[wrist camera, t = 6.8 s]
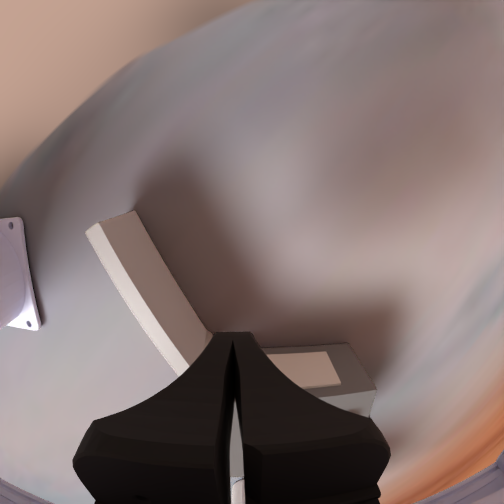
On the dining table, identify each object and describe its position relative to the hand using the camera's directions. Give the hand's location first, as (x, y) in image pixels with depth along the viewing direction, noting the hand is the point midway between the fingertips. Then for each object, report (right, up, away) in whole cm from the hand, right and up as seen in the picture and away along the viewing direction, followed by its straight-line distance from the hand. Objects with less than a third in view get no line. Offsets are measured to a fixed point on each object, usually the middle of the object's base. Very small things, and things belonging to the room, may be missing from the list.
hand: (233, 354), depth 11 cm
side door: (-4, +2, +6) cm, 8 cm away
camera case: (+2, -5, +8) cm, 10 cm away
